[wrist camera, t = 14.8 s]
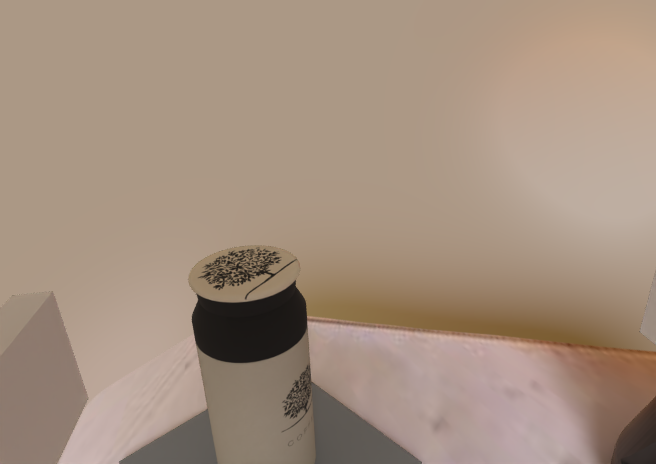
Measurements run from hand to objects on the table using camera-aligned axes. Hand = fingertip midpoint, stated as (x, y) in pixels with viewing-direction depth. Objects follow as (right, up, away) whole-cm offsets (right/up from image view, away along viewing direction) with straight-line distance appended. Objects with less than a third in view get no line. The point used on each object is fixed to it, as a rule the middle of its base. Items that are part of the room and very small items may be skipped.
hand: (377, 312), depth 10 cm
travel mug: (-6, -17, +29) cm, 34 cm away
